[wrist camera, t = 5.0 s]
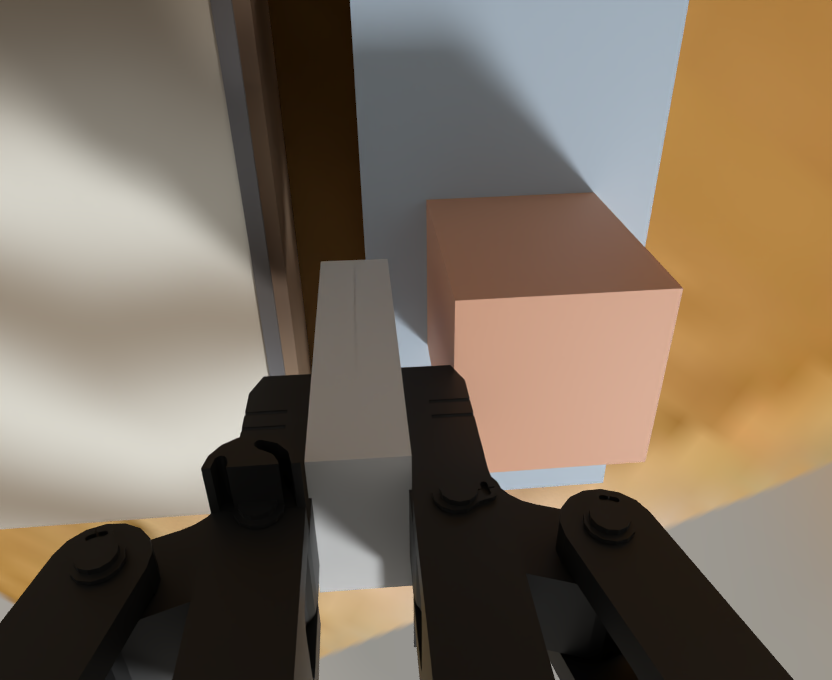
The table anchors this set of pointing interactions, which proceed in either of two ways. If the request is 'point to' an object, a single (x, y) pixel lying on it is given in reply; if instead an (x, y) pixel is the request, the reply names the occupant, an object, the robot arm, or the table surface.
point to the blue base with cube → (524, 214)
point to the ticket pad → (137, 251)
